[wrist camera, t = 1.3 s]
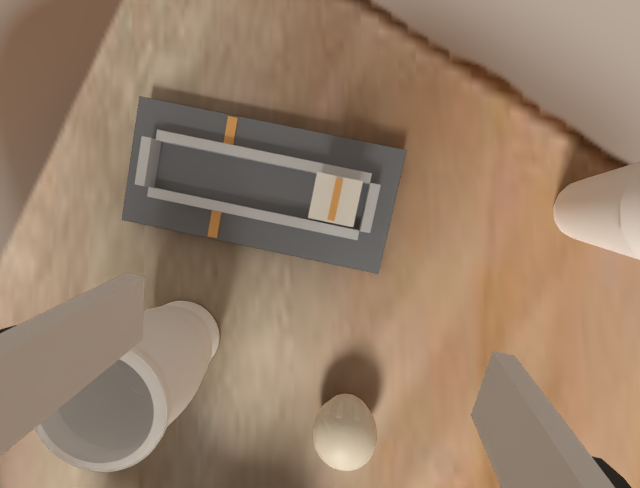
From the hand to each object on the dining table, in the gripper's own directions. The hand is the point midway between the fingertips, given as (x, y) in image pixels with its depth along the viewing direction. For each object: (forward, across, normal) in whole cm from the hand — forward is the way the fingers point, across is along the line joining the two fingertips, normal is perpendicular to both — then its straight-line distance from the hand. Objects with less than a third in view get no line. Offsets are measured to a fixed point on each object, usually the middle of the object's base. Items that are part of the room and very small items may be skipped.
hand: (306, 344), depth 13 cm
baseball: (+23, -4, +22) cm, 32 cm away
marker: (+24, +13, -3) cm, 27 cm away
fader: (+24, +1, -2) cm, 24 cm away
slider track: (+26, +9, -2) cm, 28 cm away
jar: (+23, +16, +16) cm, 32 cm away
